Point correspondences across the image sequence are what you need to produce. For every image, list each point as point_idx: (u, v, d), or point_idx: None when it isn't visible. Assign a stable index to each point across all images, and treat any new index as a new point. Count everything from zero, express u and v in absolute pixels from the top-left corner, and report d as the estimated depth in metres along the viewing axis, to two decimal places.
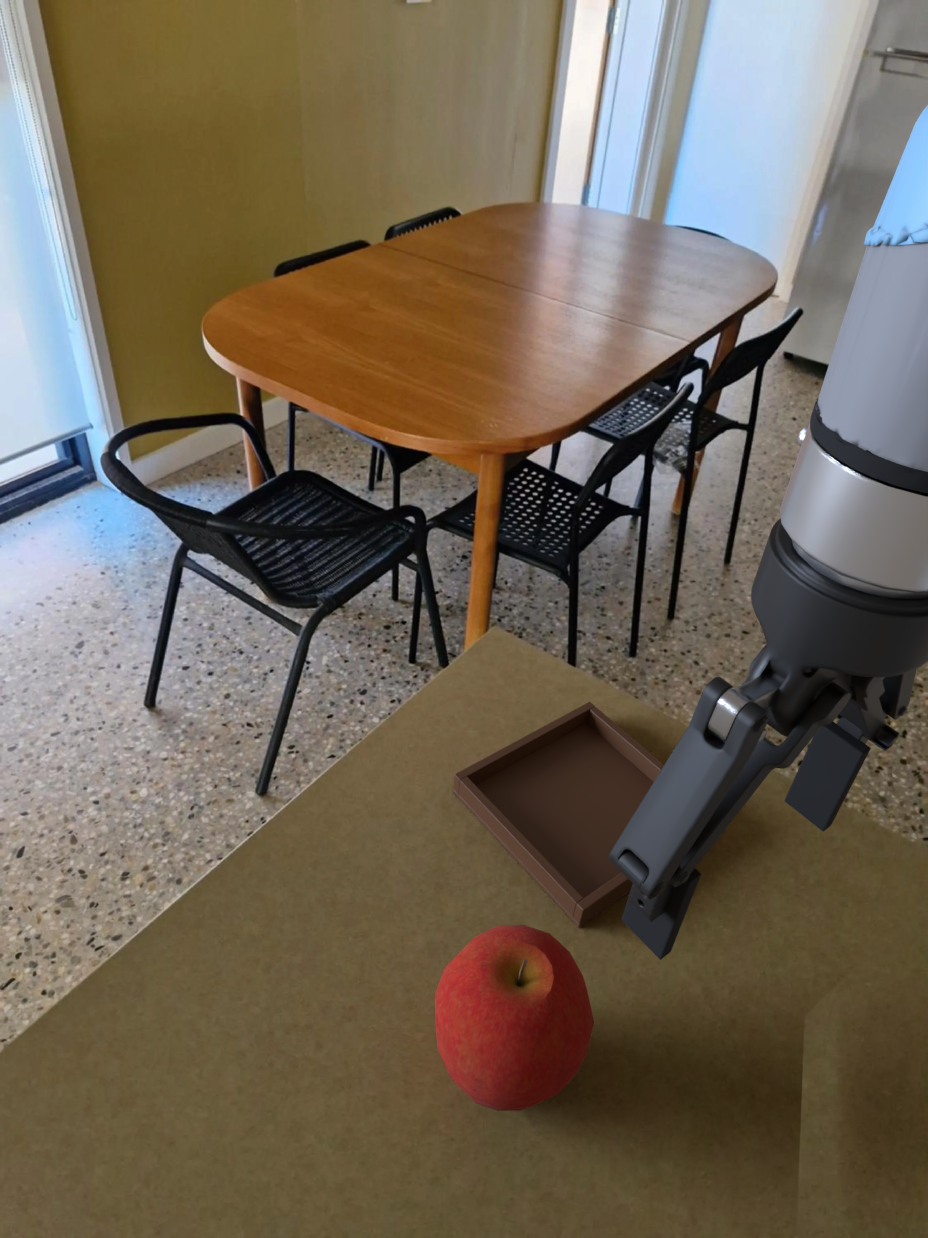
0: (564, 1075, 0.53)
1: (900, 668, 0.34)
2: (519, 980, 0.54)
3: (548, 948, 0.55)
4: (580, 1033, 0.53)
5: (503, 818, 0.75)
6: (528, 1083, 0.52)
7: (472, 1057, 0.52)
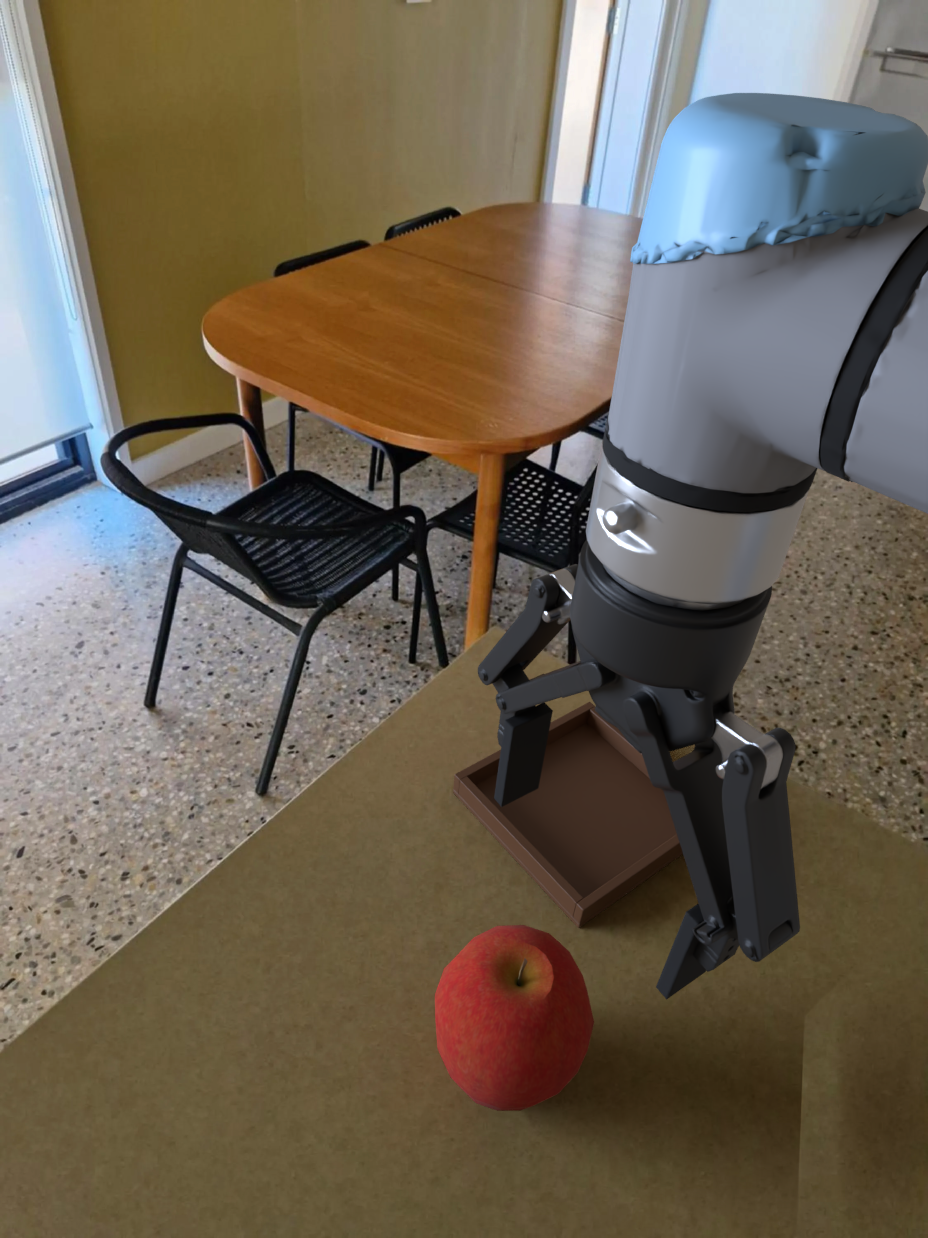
0: (564, 1075, 0.53)
1: None
2: (519, 980, 0.54)
3: (548, 948, 0.55)
4: (580, 1033, 0.53)
5: (503, 818, 0.75)
6: (528, 1083, 0.52)
7: (472, 1057, 0.52)
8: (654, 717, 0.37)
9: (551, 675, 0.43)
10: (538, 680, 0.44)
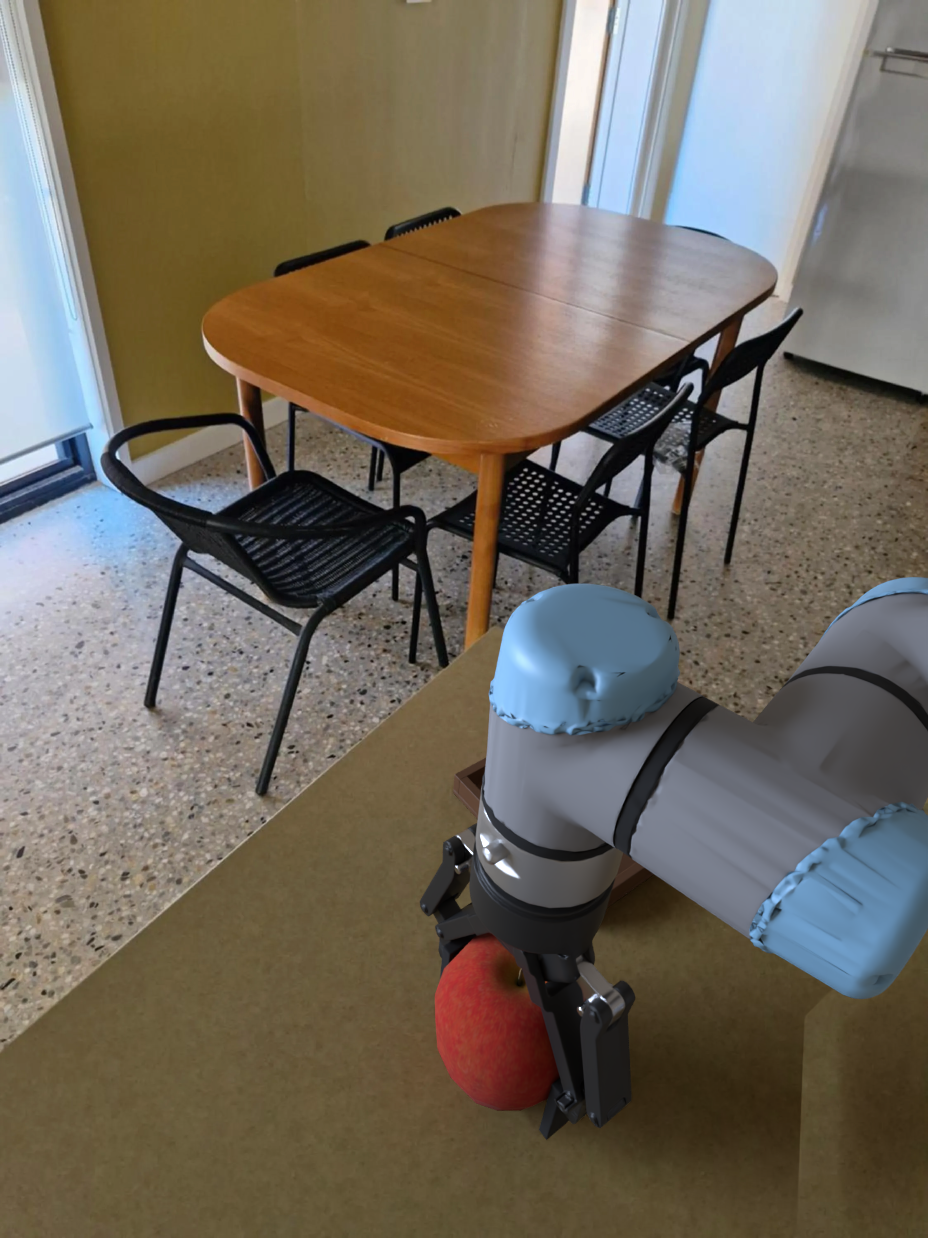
0: None
1: None
2: (519, 980, 0.54)
3: None
4: None
5: None
6: (528, 1083, 0.52)
7: (472, 1057, 0.52)
8: (536, 963, 0.48)
9: (468, 915, 0.54)
10: (460, 918, 0.55)
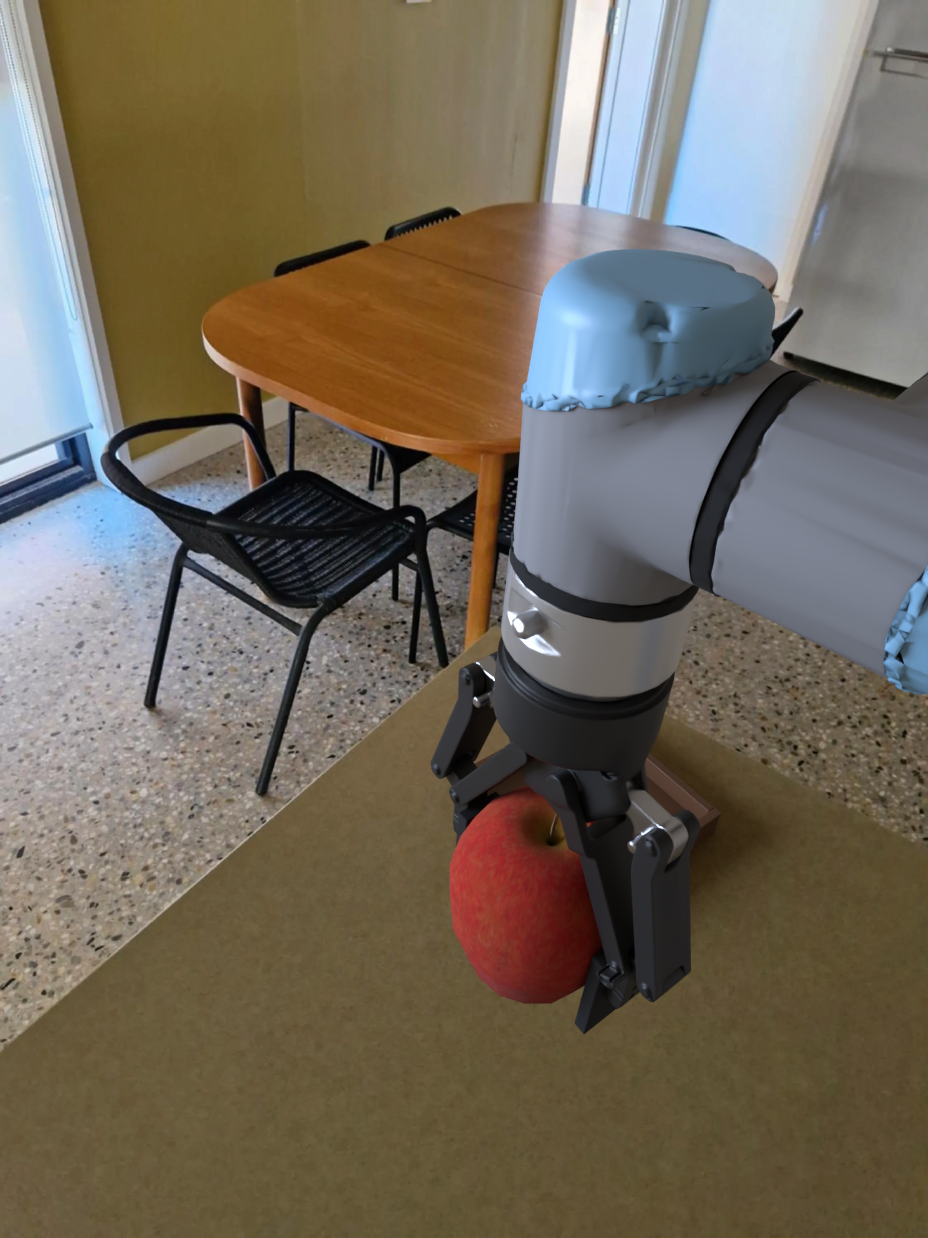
0: None
1: None
2: (551, 838, 0.45)
3: None
4: None
5: None
6: (563, 956, 0.43)
7: (496, 926, 0.43)
8: (575, 795, 0.39)
9: (489, 761, 0.45)
10: (479, 768, 0.46)
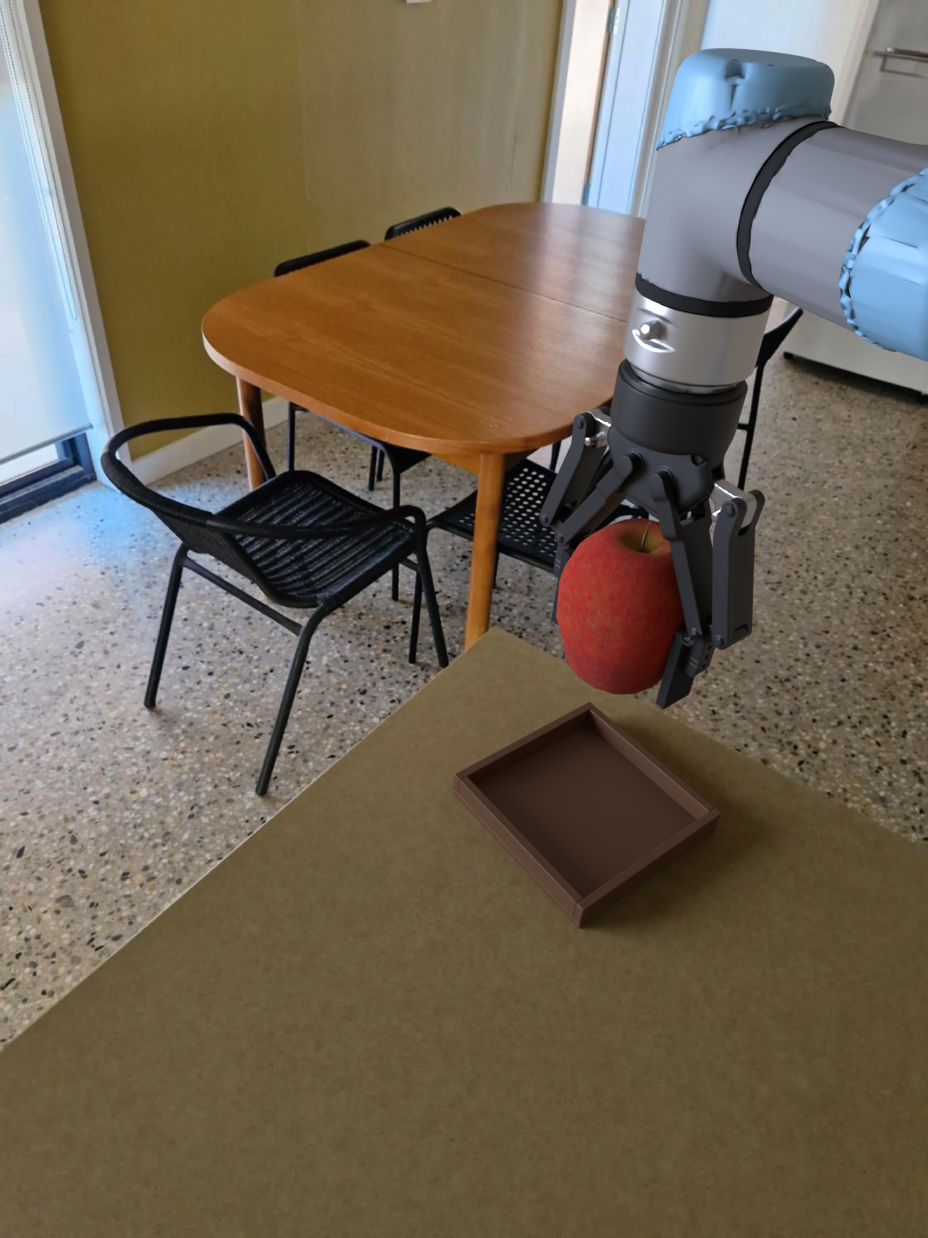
0: None
1: None
2: (642, 549, 0.59)
3: None
4: None
5: (503, 818, 0.75)
6: (654, 629, 0.57)
7: (603, 608, 0.57)
8: (670, 488, 0.53)
9: (595, 490, 0.59)
10: (585, 500, 0.60)
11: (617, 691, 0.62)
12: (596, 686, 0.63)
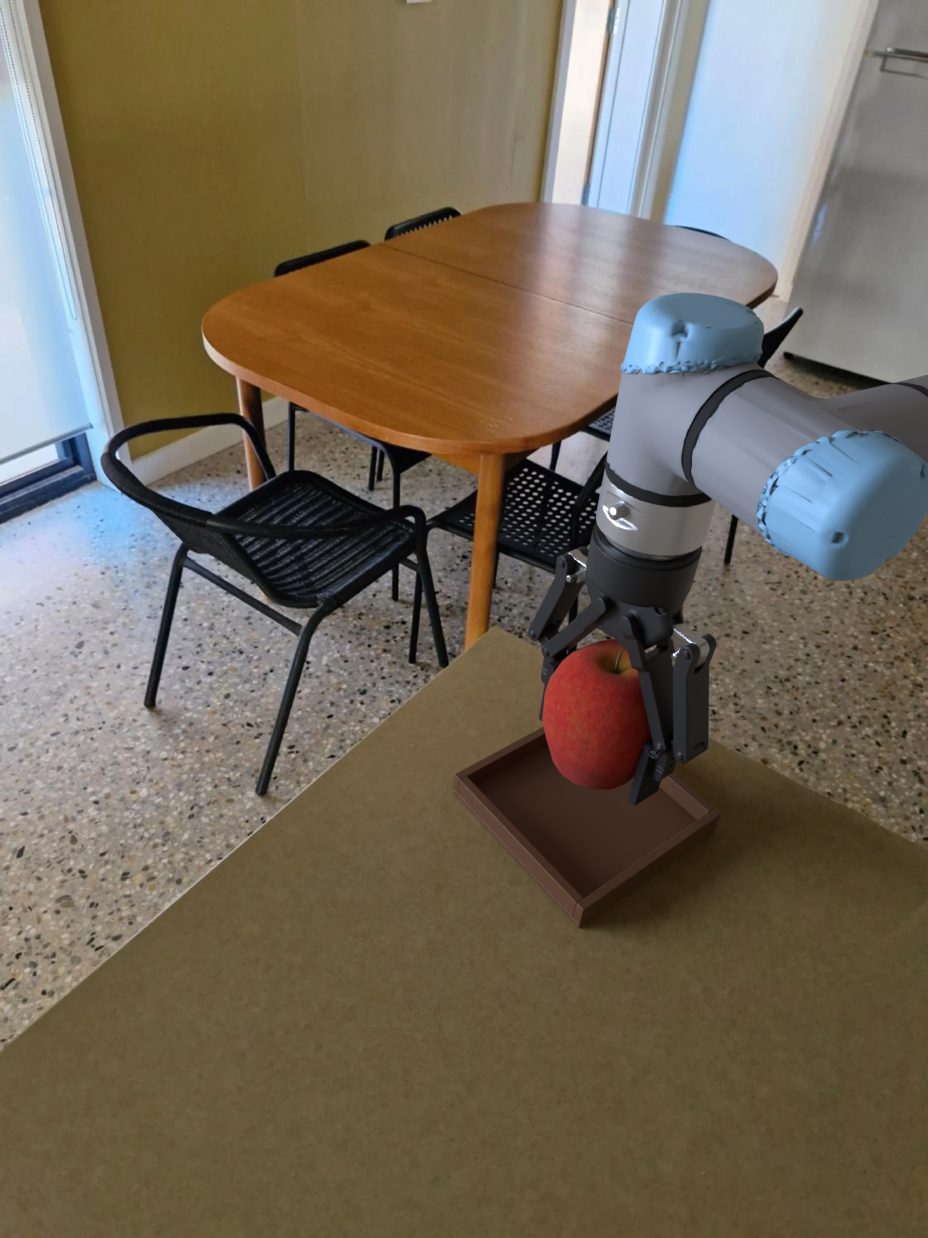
0: None
1: None
2: (615, 670, 0.68)
3: None
4: None
5: (503, 818, 0.75)
6: (625, 742, 0.66)
7: (581, 723, 0.67)
8: (637, 628, 0.63)
9: (575, 619, 0.68)
10: (567, 626, 0.69)
11: (595, 788, 0.71)
12: (577, 783, 0.72)
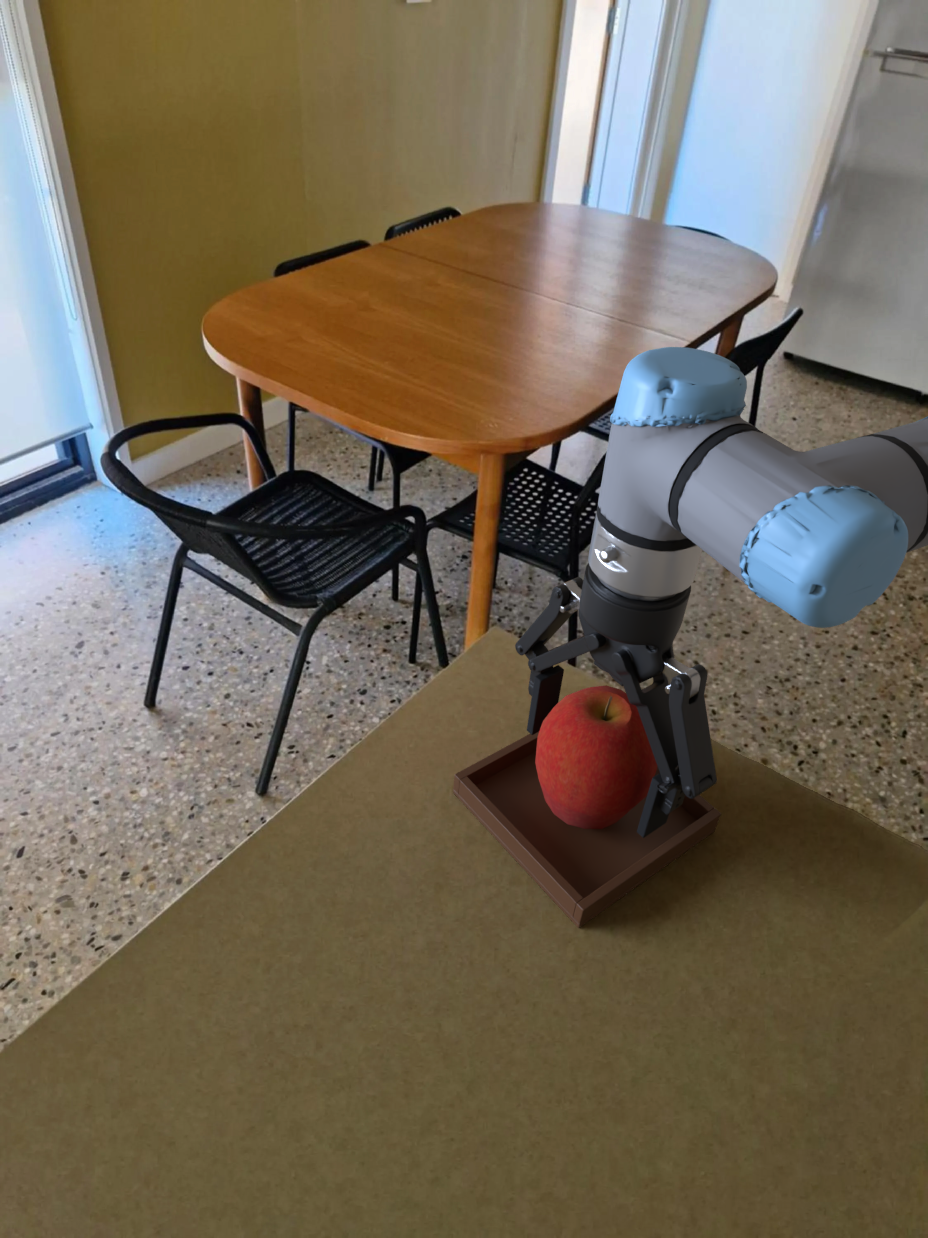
0: (639, 785, 0.71)
1: None
2: (605, 716, 0.71)
3: (625, 696, 0.72)
4: (651, 754, 0.71)
5: (503, 818, 0.75)
6: (613, 786, 0.69)
7: (571, 768, 0.70)
8: (629, 663, 0.65)
9: (566, 645, 0.70)
10: (557, 648, 0.72)
11: (586, 828, 0.75)
12: (568, 823, 0.75)
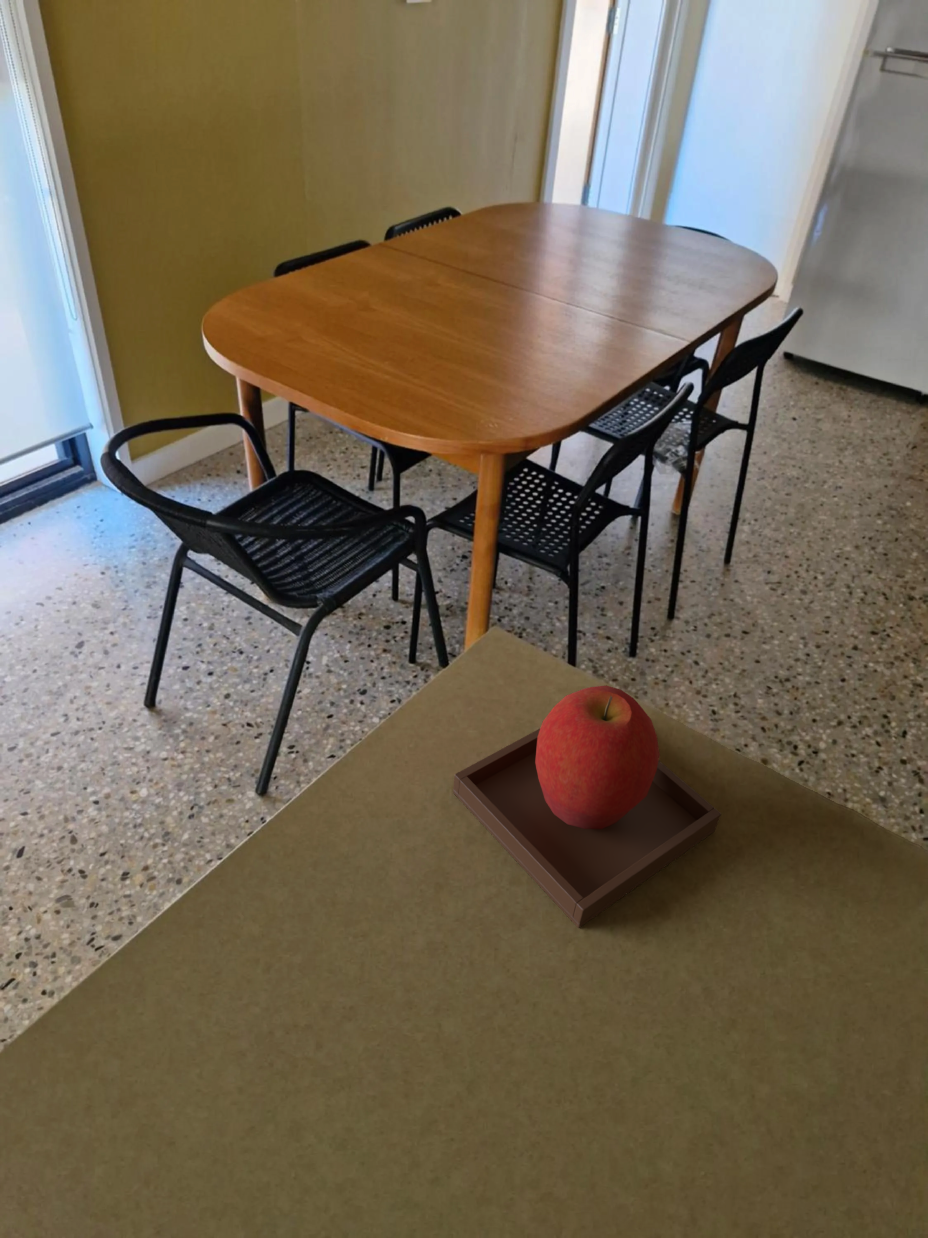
0: (639, 785, 0.71)
1: None
2: (605, 716, 0.71)
3: (625, 696, 0.72)
4: (651, 754, 0.71)
5: (503, 818, 0.75)
6: (613, 786, 0.69)
7: (571, 768, 0.70)
8: None
9: None
10: None
11: (586, 828, 0.75)
12: (568, 823, 0.75)
